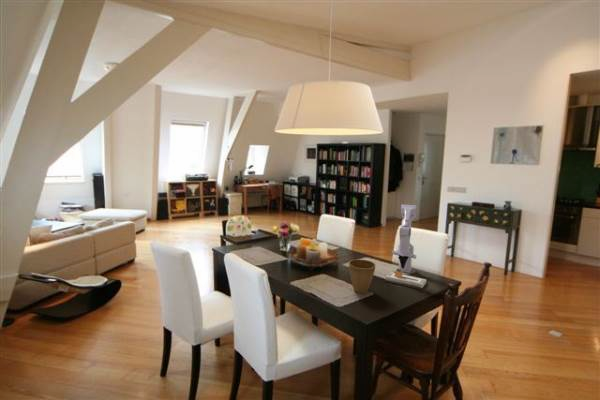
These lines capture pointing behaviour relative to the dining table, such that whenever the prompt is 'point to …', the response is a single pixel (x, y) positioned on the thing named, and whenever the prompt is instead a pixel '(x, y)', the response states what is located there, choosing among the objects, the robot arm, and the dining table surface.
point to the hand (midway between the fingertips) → (402, 267)
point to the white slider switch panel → (407, 279)
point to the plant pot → (361, 274)
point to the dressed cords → (404, 283)
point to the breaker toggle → (398, 272)
